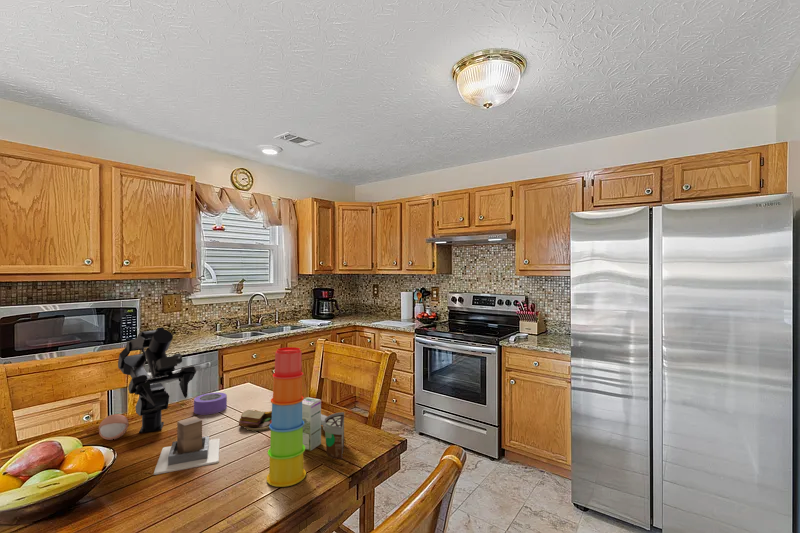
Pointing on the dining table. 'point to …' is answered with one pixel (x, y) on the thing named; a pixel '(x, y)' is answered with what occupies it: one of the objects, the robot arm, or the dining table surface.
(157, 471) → the mat
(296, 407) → the stacking cups
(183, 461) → the collar
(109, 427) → the toy ball
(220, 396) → the tape roll
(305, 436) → the syrup box
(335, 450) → the food container
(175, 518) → the dining table surface
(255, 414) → the toy sandwich meal
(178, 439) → the walnut block
